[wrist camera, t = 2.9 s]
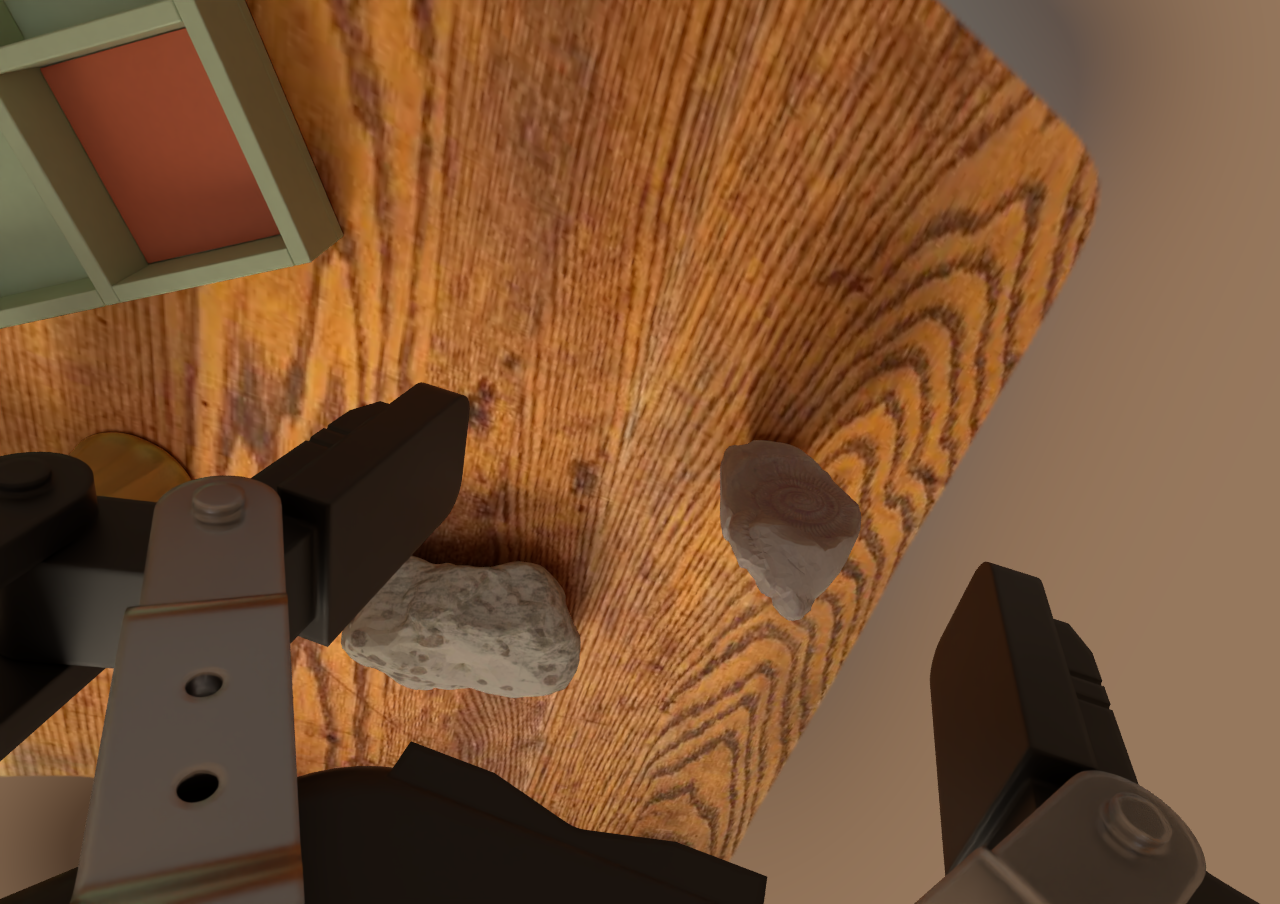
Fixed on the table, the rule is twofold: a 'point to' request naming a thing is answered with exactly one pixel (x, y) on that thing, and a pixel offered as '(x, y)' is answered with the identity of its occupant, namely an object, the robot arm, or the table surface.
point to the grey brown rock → (785, 522)
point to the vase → (129, 466)
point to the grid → (144, 155)
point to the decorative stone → (468, 629)
